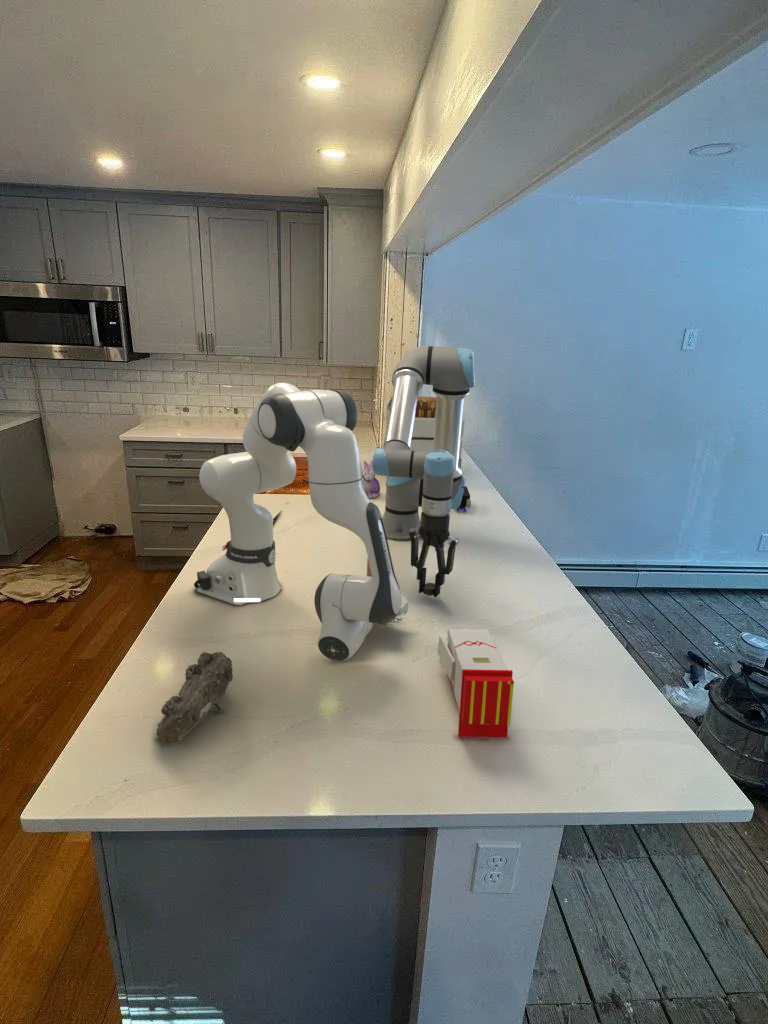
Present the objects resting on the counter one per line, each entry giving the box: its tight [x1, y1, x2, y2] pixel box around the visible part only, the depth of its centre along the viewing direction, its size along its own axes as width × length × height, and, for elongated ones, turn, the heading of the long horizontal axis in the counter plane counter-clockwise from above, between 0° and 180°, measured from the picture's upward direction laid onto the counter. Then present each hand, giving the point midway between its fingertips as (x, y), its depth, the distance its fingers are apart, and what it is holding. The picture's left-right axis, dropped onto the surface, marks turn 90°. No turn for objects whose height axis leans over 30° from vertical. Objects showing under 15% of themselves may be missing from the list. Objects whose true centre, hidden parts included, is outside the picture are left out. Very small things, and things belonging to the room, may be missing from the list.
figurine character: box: [456, 485, 472, 513], centre depth 228 cm, size 7×8×15 cm
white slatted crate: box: [385, 396, 465, 471], centre depth 268 cm, size 34×33×41 cm
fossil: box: [155, 651, 234, 743], centre depth 109 cm, size 22×10×15 cm
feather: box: [273, 510, 282, 526], centre depth 212 cm, size 2×28×2 cm
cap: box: [421, 582, 435, 596], centre depth 155 cm, size 4×4×2 cm
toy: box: [437, 628, 515, 738], centre depth 117 cm, size 12×13×30 cm
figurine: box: [362, 459, 381, 499], centre depth 236 cm, size 9×10×15 cm
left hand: (375, 588), depth 146 cm, fingers closed on bottle, 4 cm apart
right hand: (429, 592), depth 155 cm, fingers closed on cap, 4 cm apart
